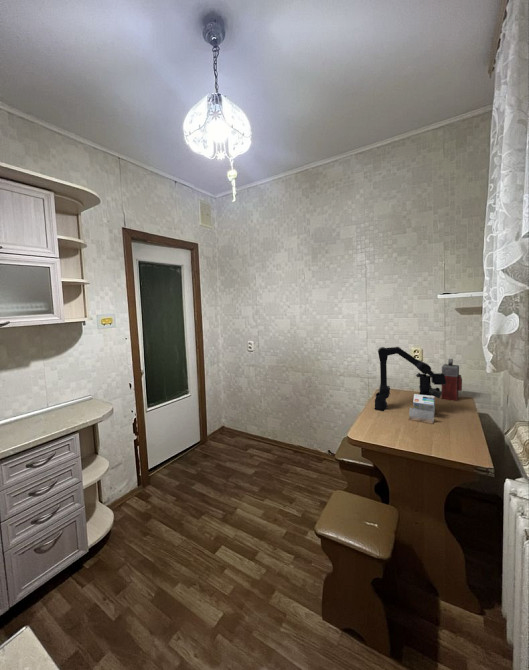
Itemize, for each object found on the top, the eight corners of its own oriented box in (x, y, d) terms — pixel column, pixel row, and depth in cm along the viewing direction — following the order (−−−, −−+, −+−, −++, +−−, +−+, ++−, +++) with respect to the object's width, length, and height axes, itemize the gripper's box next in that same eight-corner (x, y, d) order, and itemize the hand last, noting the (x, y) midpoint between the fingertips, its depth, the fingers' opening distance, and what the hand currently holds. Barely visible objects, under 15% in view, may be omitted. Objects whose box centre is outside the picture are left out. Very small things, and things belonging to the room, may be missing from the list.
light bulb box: (435, 407, 168) (434, 395, 162) (434, 416, 163) (434, 404, 158) (414, 404, 174) (413, 393, 168) (413, 413, 169) (412, 402, 163)
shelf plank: (408, 419, 160) (408, 418, 160) (409, 418, 162) (409, 417, 162) (433, 424, 153) (433, 423, 153) (433, 422, 155) (433, 421, 155)
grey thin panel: (409, 418, 162) (409, 408, 161) (409, 417, 163) (409, 407, 162) (433, 422, 155) (433, 412, 154) (433, 421, 156) (433, 411, 155)
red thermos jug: (461, 402, 186) (462, 360, 184) (441, 399, 193) (441, 359, 191) (462, 399, 193) (463, 358, 191) (443, 396, 200) (444, 357, 198)
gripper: (439, 389, 158) (440, 416, 160) (441, 381, 173) (441, 406, 175) (417, 387, 164) (417, 413, 166) (420, 380, 180) (421, 403, 181)
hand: (425, 409), depth 172 cm, fingers closed, pressing on light bulb box
